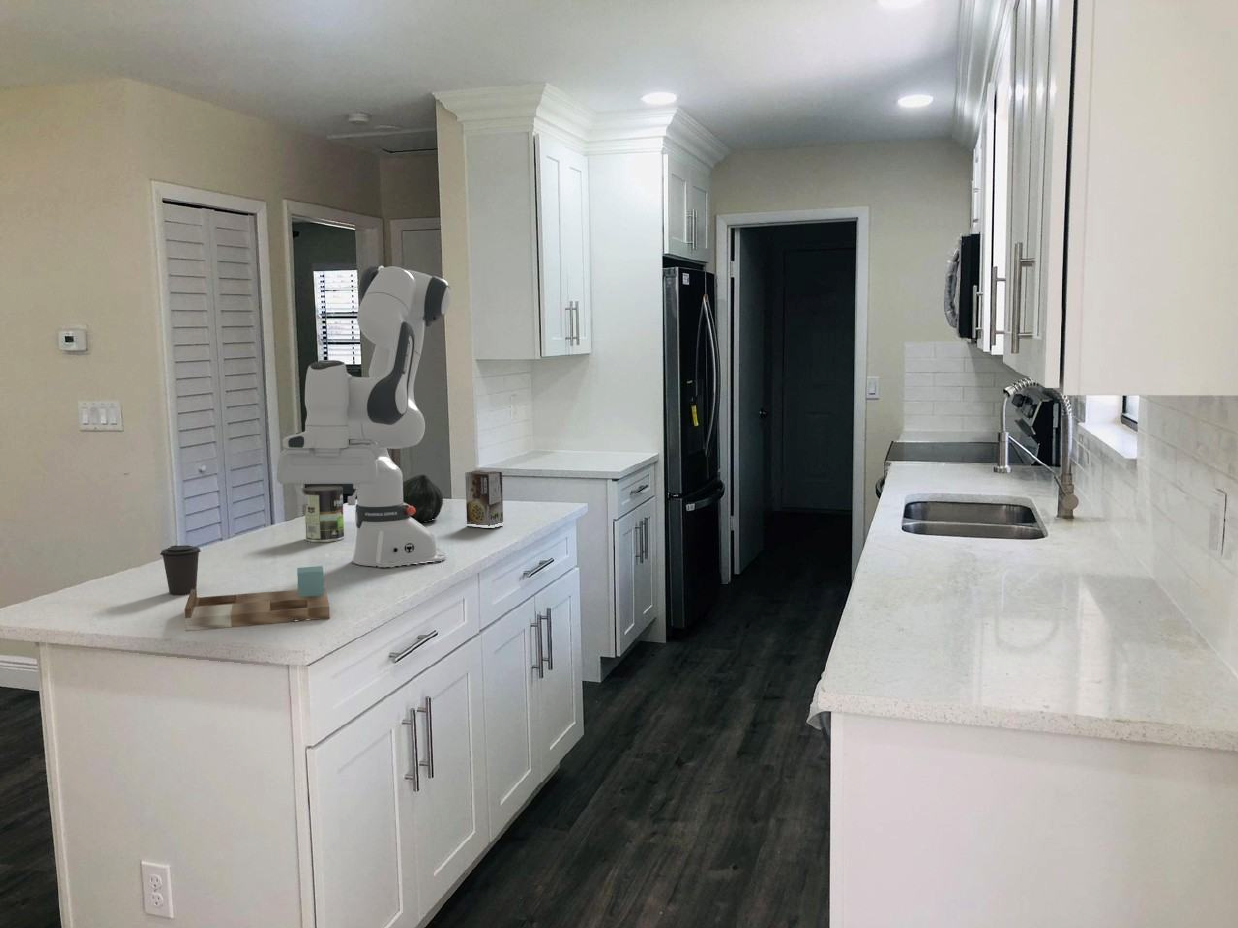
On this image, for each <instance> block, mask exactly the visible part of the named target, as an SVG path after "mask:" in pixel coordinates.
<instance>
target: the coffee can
mask: <svg viewBox="0 0 1238 928" xmlns="http://www.w3.org/2000/svg"><path fill="white" fill-rule="evenodd" d="M343 491H344V488H343V486H340V485H317V486H308V487H305V488H304V489H303V494H304V496H309V500H308V501H309V505H308V506H304V517H305V518H304V519H305V522H304V523H305V541H306V542H311V543H332V542H338V541H341V540H344V539H345V526H344V525H345V523H344V519H345V518H344V496H343V495H344V494H343V493H344V492H343Z"/></svg>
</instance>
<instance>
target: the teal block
mask: <svg viewBox="0 0 1238 928" xmlns="http://www.w3.org/2000/svg"><path fill="white" fill-rule="evenodd" d="M296 569H297V570H296V573H297V576H296V577H297V590H298V595H299V597H308V596H321V595H324V588H325V582H324V581H325V578H324V577H325V576H324V568H323V565H322V566H321V565H318V566H305V567H297V568H296Z"/></svg>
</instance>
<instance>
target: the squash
mask: <svg viewBox="0 0 1238 928" xmlns="http://www.w3.org/2000/svg"><path fill="white" fill-rule="evenodd" d="M443 497H444V496H443V493H442V491H441V489H440V487H438V485H437V483H435V482H434V481H433V480H432V479H431V478H430V477H429V476H427V475H426V474H425V473H424V474H418V475H416V476H413V477H410V478H409V479H407V480H405V481H403V502H404V503H406V504H408V505H410V506H413V507H414V508H415V510H416V511H415V513H414V514H413V515H412V516H411V517H412V518H413V519H415V520H416V521H417V522H419V520H420V522H421V521H428V522H430V521H429V520H432V519H434V520H436V519H437V518H438V517H439V515H440V513H441V511H442V507H443V505H444V498H443ZM432 521H433V520H432Z"/></svg>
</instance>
